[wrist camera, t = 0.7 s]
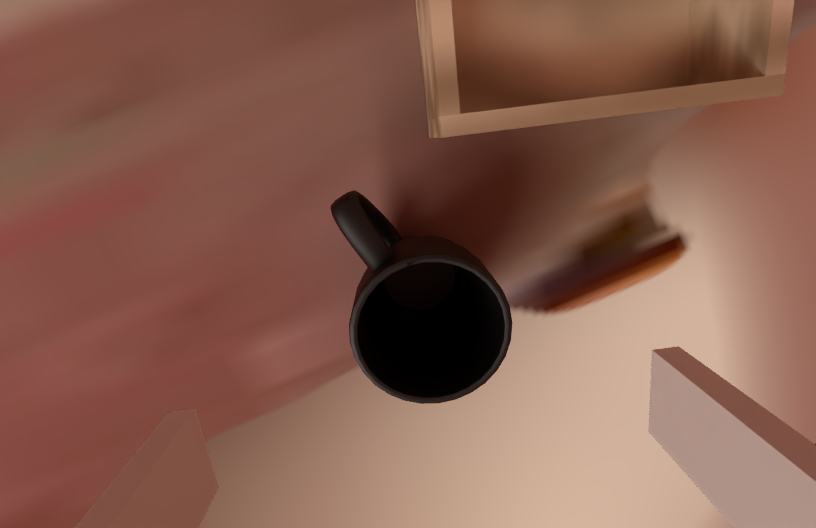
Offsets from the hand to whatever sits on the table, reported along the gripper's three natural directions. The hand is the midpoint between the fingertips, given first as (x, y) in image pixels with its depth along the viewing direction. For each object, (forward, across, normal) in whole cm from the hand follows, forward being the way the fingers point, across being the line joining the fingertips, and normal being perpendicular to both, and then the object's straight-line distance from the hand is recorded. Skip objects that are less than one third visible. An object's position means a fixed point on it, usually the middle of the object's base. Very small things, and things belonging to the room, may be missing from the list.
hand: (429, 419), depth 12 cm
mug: (+19, 0, 0) cm, 19 cm away
